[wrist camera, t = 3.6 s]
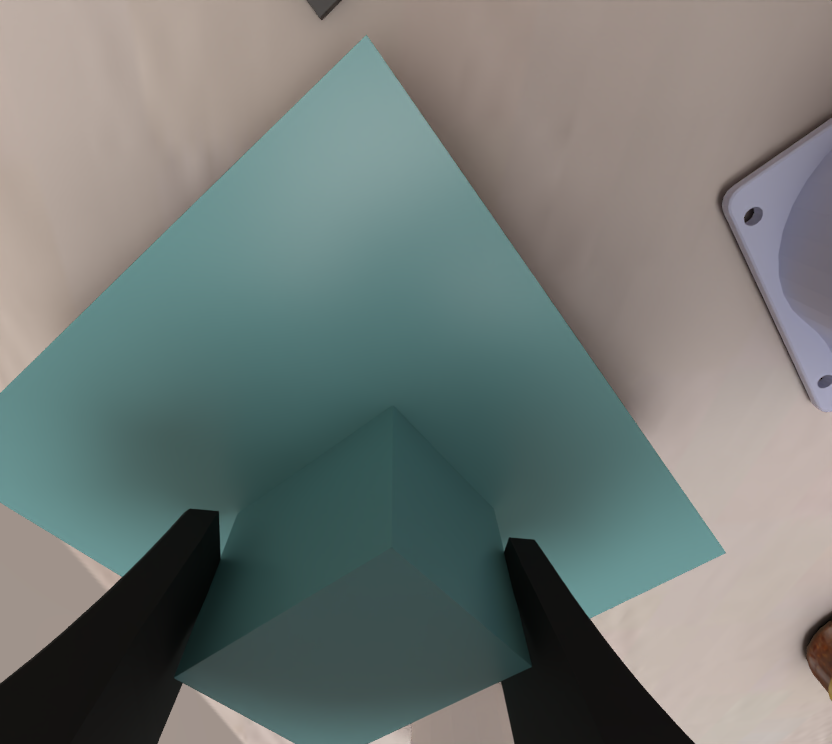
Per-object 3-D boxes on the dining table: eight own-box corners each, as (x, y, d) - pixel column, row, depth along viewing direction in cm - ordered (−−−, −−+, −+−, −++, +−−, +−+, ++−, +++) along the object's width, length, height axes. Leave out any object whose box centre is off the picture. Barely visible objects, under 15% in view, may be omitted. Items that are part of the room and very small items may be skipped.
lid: (694, 510, 15) (841, 709, 10) (369, 678, 18) (359, 887, 14) (370, 46, 9) (342, -25, 4) (-17, 421, 13) (-282, 623, 8)
